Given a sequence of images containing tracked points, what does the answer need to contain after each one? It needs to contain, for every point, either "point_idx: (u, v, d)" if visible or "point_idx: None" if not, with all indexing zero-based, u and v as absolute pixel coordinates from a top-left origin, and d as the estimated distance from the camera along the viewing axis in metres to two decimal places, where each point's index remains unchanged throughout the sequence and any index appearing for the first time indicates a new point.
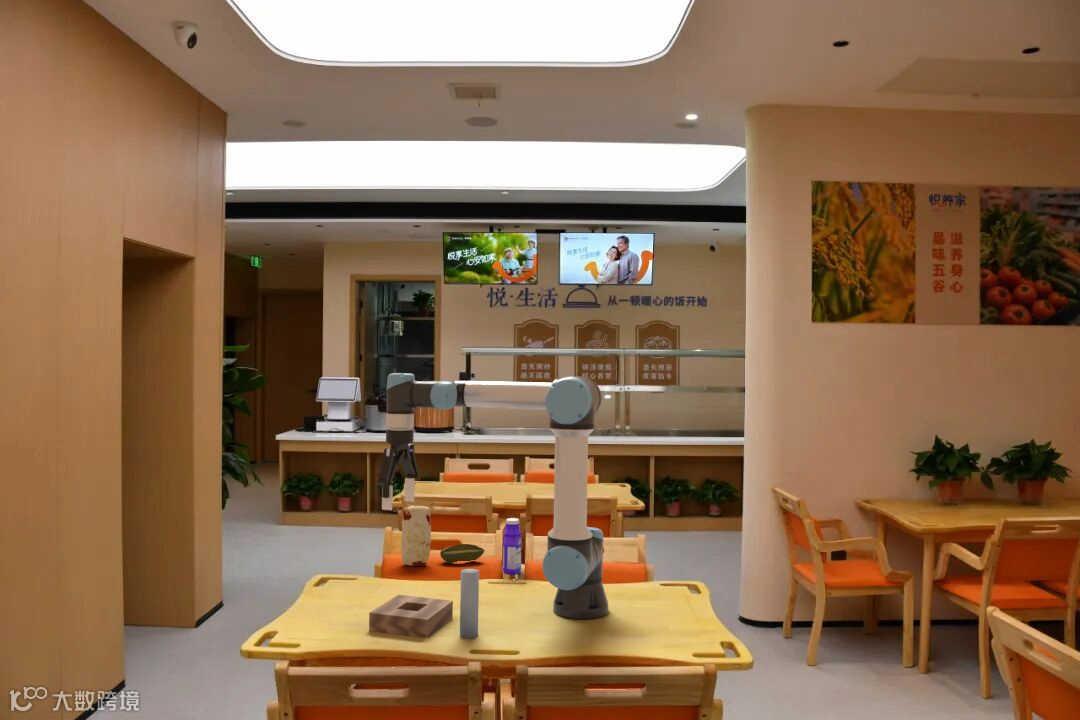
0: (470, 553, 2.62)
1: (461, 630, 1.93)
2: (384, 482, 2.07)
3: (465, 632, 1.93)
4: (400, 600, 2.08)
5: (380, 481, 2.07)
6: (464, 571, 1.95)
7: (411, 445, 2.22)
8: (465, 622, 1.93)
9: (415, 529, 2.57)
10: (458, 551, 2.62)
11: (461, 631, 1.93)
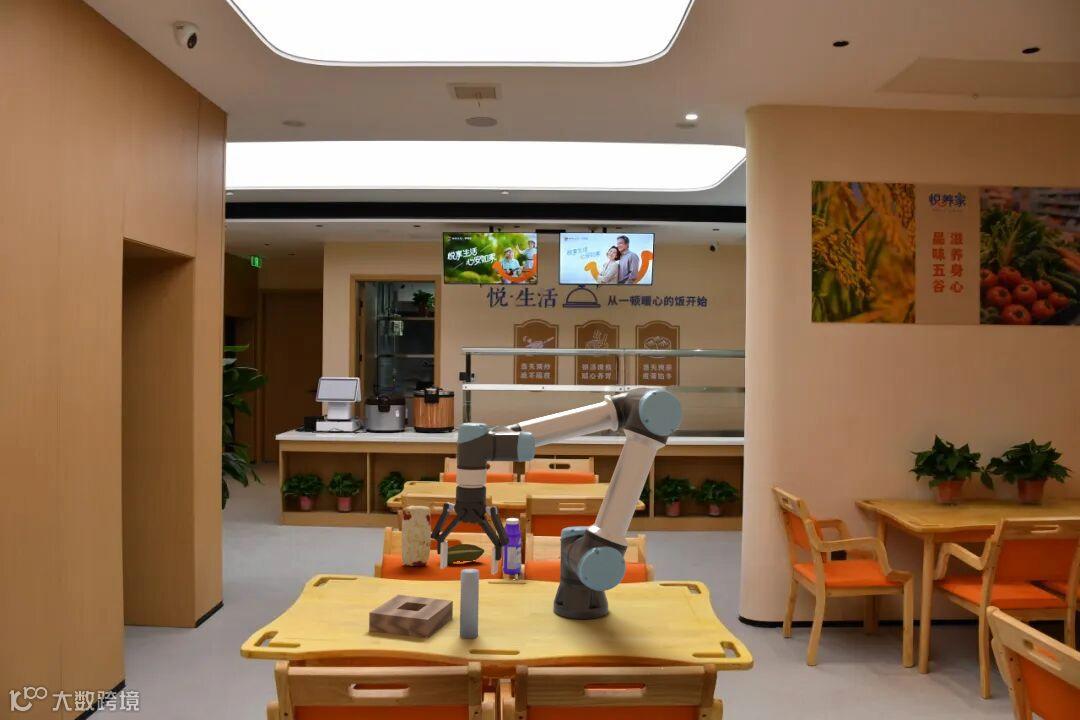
0: (470, 553, 2.62)
1: (461, 630, 1.93)
2: None
3: (465, 632, 1.93)
4: (400, 600, 2.08)
5: None
6: (464, 571, 1.95)
7: (491, 508, 1.92)
8: (465, 622, 1.93)
9: (415, 529, 2.57)
10: (458, 551, 2.62)
11: (461, 631, 1.93)
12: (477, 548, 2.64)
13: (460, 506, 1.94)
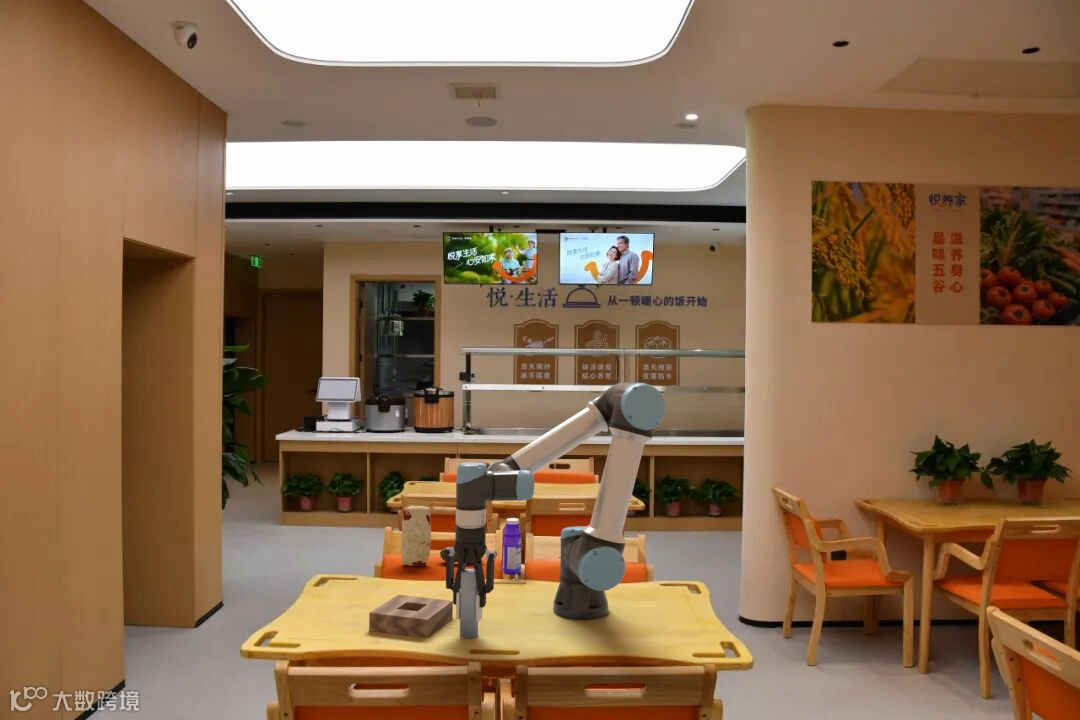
0: None
1: (461, 630, 1.93)
2: None
3: (465, 632, 1.93)
4: (400, 600, 2.08)
5: None
6: (464, 571, 1.95)
7: (490, 553, 1.92)
8: (465, 622, 1.93)
9: (415, 529, 2.57)
10: None
11: (461, 631, 1.93)
12: None
13: (459, 545, 1.94)
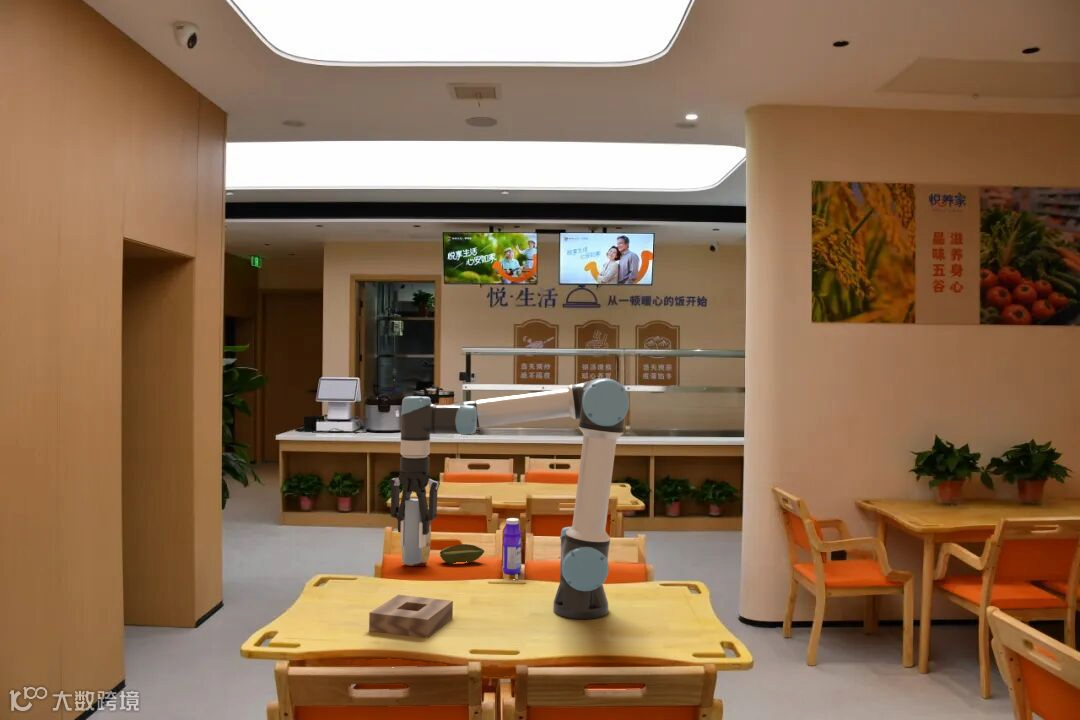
0: (469, 553, 2.62)
1: (405, 556, 2.01)
2: None
3: (409, 558, 2.00)
4: (400, 600, 2.08)
5: None
6: (409, 500, 2.02)
7: None
8: (409, 548, 2.00)
9: None
10: (457, 551, 2.62)
11: (405, 557, 2.01)
12: (477, 548, 2.64)
13: (403, 475, 2.02)
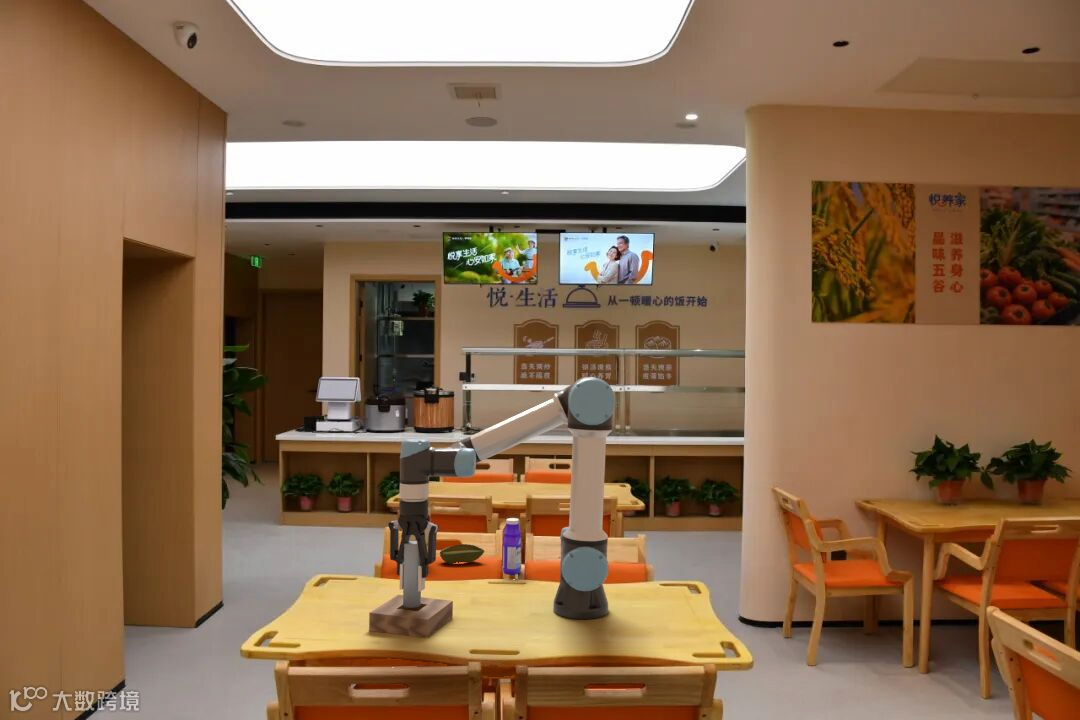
0: (469, 553, 2.62)
1: (404, 600, 2.01)
2: None
3: (408, 601, 2.00)
4: (400, 600, 2.08)
5: None
6: (408, 543, 2.02)
7: (432, 526, 2.00)
8: (408, 591, 2.00)
9: None
10: (457, 551, 2.62)
11: (404, 600, 2.01)
12: (477, 548, 2.64)
13: (402, 518, 2.02)
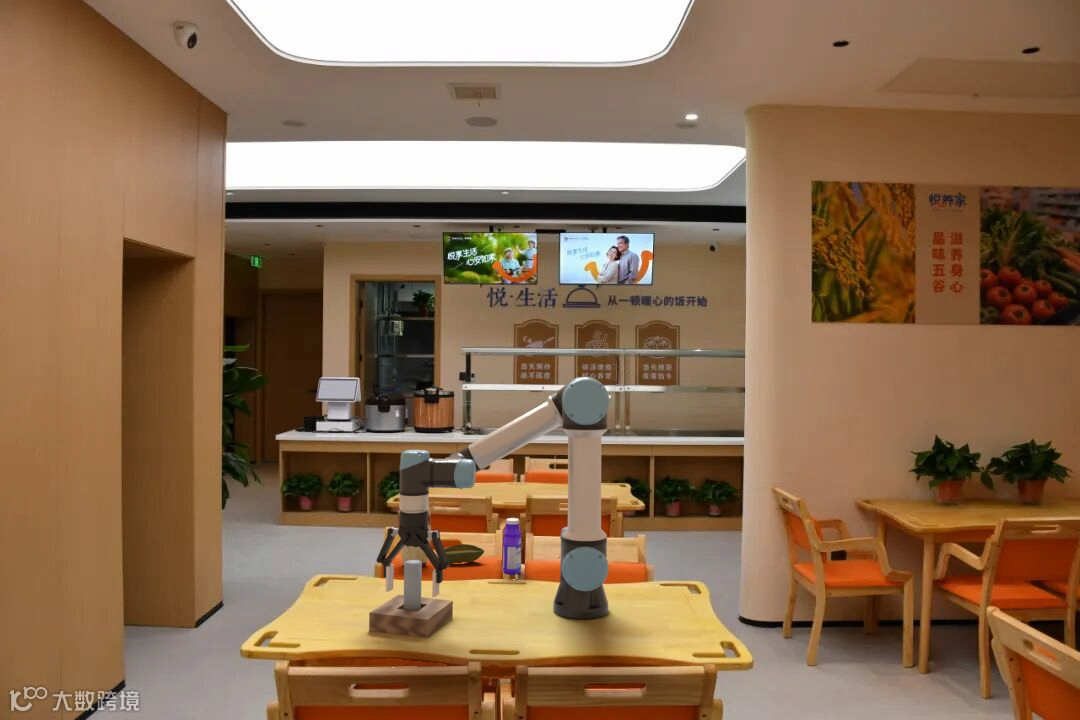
0: (469, 553, 2.62)
1: None
2: None
3: None
4: (400, 600, 2.08)
5: None
6: (408, 562, 2.02)
7: None
8: None
9: None
10: (457, 551, 2.62)
11: None
12: (477, 548, 2.63)
13: (403, 530, 2.02)
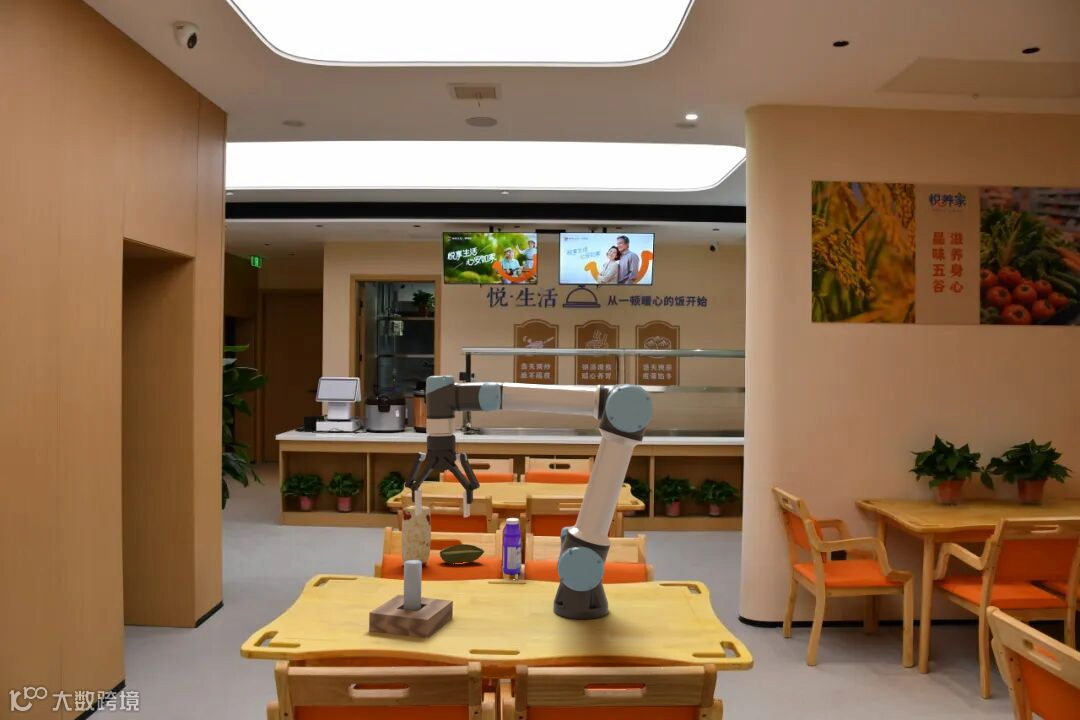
0: (469, 554, 2.61)
1: None
2: None
3: None
4: (400, 600, 2.08)
5: None
6: (408, 562, 2.02)
7: None
8: None
9: (415, 529, 2.57)
10: (457, 551, 2.61)
11: None
12: (477, 549, 2.63)
13: (431, 455, 2.04)
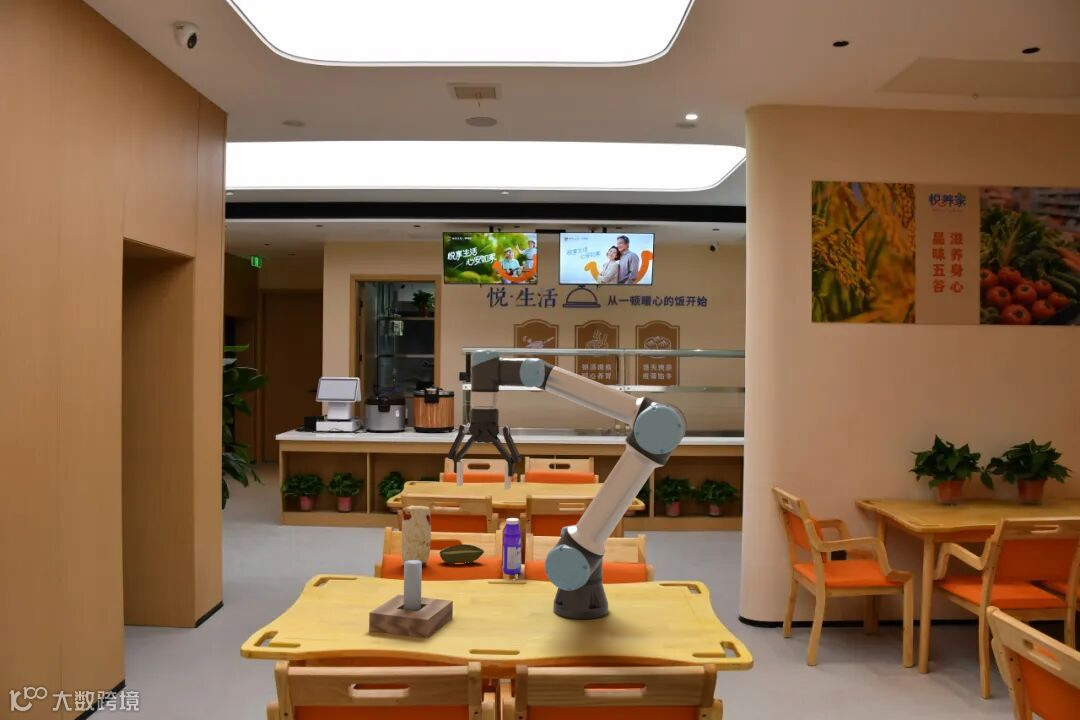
0: (469, 554, 2.61)
1: None
2: None
3: None
4: (400, 600, 2.08)
5: None
6: (408, 562, 2.02)
7: None
8: None
9: (415, 529, 2.57)
10: (457, 551, 2.61)
11: None
12: (476, 549, 2.63)
13: (474, 427, 2.08)
